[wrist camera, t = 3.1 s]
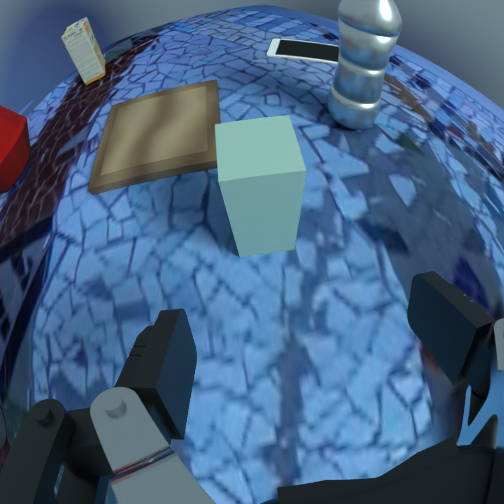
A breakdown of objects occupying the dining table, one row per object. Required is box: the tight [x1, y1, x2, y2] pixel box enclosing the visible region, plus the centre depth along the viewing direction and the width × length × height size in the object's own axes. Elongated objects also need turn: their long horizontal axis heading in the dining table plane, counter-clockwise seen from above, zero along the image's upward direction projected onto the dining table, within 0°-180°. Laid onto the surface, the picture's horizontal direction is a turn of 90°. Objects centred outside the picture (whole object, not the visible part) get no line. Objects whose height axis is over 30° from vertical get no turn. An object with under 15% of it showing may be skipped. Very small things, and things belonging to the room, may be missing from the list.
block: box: [215, 115, 306, 257], centre depth 21 cm, size 5×5×11 cm
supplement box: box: [61, 18, 105, 85], centre depth 37 cm, size 8×5×13 cm, turn 24°
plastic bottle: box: [327, 0, 402, 130], centre depth 22 cm, size 6×7×20 cm
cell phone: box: [267, 39, 339, 64], centre depth 39 cm, size 8×16×1 cm, turn 78°
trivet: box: [88, 80, 221, 195], centre depth 32 cm, size 16×16×1 cm
